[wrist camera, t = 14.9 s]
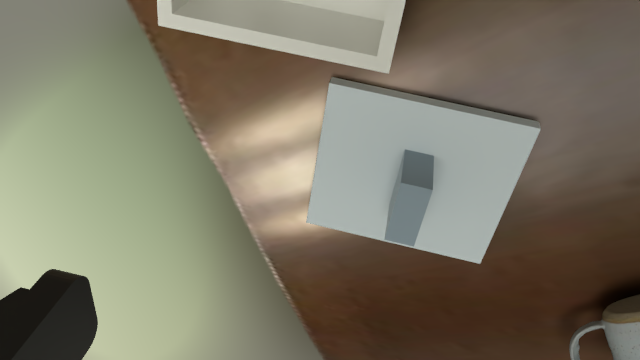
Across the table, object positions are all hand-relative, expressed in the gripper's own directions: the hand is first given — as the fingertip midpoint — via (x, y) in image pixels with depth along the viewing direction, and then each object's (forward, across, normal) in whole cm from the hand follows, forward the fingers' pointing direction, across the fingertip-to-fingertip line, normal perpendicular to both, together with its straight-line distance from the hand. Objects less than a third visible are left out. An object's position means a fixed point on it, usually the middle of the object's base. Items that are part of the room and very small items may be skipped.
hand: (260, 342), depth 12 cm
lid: (+33, -5, +17) cm, 38 cm away
